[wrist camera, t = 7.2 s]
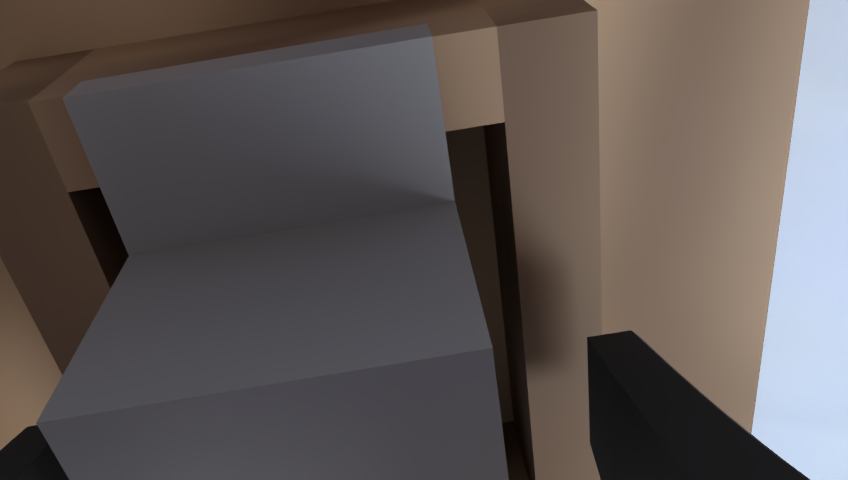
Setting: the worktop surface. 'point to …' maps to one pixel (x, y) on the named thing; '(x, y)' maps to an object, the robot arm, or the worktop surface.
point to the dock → (465, 181)
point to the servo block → (280, 276)
